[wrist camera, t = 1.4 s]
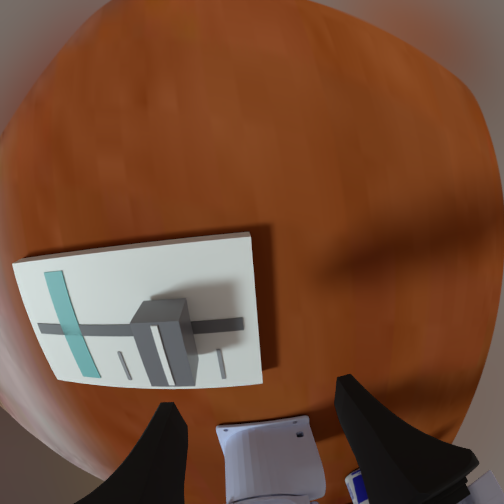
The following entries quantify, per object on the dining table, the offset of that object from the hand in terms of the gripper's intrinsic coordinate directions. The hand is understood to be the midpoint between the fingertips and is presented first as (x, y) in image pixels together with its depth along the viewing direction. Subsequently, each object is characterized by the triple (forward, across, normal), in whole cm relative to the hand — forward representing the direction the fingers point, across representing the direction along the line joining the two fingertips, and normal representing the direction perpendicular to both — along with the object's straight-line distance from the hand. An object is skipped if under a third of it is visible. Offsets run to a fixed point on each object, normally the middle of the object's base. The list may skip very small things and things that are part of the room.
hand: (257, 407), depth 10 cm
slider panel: (+10, +9, 0) cm, 13 cm away
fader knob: (+8, +5, +1) cm, 9 cm away
